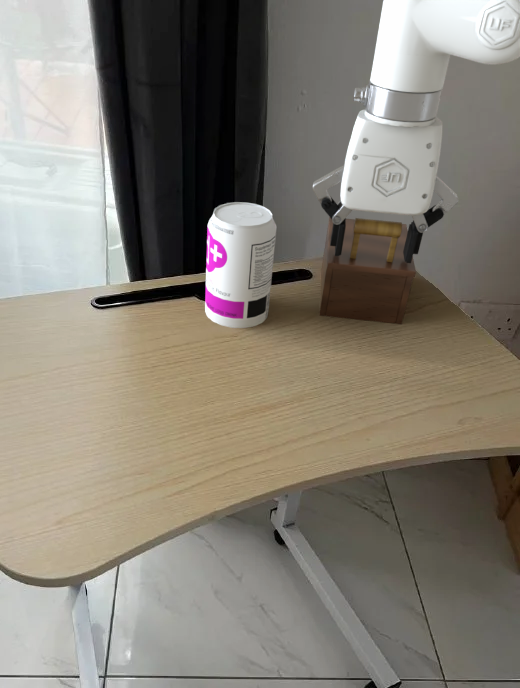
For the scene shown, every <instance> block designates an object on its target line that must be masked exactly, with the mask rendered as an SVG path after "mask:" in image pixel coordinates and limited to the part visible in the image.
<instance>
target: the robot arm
mask: <svg viewBox="0 0 520 688" xmlns="http://www.w3.org/2000/svg"><path fill="white" fill-rule="evenodd" d="M375 43H376V44H375V49H374V55H373V61H372V66H371V73H370V79H368V84H365V86H362V87H355V88H354V92H353V102H357V103H359V104H363V107H365V108H364V109H362V110H360V111H359V112H358V114H357V116H356V120H355V122H354V125H353V127H352V128H353V129H352V132H351V135H350V139H349V142H348V146H347V151H346V154H345V159H344V164H343V165H341V166H340V167H337V168H335V169H334V170H332V171H330V172H329V173H327V174H325V175H323V176H322V177H319V178H318V179H316V180H314V181H313V183H312V191H313V193H314V195H315V197H316V199H317V200H318V202H319V203H320V206H321V208H322V210H324V212H325V213H326V214H327V216H328V218H329V217H330V218H331V219H332V222H333V228H332V234H331V241H330V246H335V256H339V255H341V252H342V246H343V240H344V234H345V228H346V219H347V217H349V215H350V214H351V212H353V211H358V212H365V213H366V212H367V213H379V214H389V215H399V216H411V218H412V221H411V223H409V225H408V227H407V230H408V233H407V237H406V241H405V246H404V250H403V254H404V260H405V262H406V263H411V261H412V257H413V258H414V255H418V254H419V252H420V247H421V244H422V239H423V236H424V233H426V232H427V231H428V229H429V228H430V227H431V226H433V225H434V224H436V223H437V222H439V221H441V220H442V219H443V218H444V215H446V214H447V213H448V212H449V211H451V210H452V209H453V208H454V207H455V206H456V205H457V204H458V203H459V197H458V194H457V193H456V192H455V191H454V190H453V189H452V188H450V187H449V185H447V183H445V182H444V180H442V179H441V178H440V177H439V176H438V170H439V169H438V168H439V163H440V157H441V151H442V149H441V148H442V142H443V140H442V139H443V121H442V120H441V119H440V118H439V117H438V116H437V114H438V109H439V105H440V101H441V97H442V93H443V88H444V86H445V85H444V84H445V80H446V76H447V72H448V67H449V63H450V59H451V56H454V57H458V58H461V59H465V60H468V61H472V62H475V63H479V64H483V65H489V66H490V65H491V66H493V65H496V66H497V65H503V64H507V63H511V62H513V61H515V60H518V59H519V58H520V0H383V1H382V7H381V12H380V20H379V25H378V31H377V36H376V42H375ZM339 183H340V194H339V195H340V200H339V201H338V202H336V201H335V200H334V199H333V197H332V196H331V195H330V193H329V191H328V190H329V189H330V188H332V187H334V186H336V185H338V184H339ZM434 193H435V194H436V195H437V196H439V197H440V198H441V199H440V200H439V201H438V202H437V204H434V205H433V206H432V207H431V203H432V200H433V195H434Z"/></svg>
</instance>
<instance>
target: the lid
mask: <svg viewBox="0 0 520 688" xmlns="http://www.w3.org/2000/svg"><path fill="white" fill-rule="evenodd" d="M327 228H328V254H327V268H328V269H337V270H347V271H356V272H366V273H376V274H386V275H396V276H406V277H413V278H416V275H417V269H416V265H415V261H414V256H413V257H412V261H411V263H406V262H405V260H404V254H403V250H404V246H405V241H406V237H407V233H408V226H407V224H406V223H403V222H402V221H392V220H382V219H381V220H380V219H371V218H361V217H355V218H346V228H345V234H344V240H343V246H342V252H341V255H339V256H335V246H330V241H331V234H332V228H333V222H332V219H331V218H330V217H329V216H328V223H327Z"/></svg>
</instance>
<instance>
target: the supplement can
mask: <svg viewBox="0 0 520 688" xmlns="http://www.w3.org/2000/svg"><path fill="white" fill-rule="evenodd" d="M277 228H278V227H277V224H276V222H275V219H274V217H273V213H272V211H271V210H270V209H269V208H267V207H266V206H263V205H260V204H257V203H251V202H243V201H242V202H240V201H234V202H226V203H224V204H219V205H218V206H217V207H215V208H214V209H213V212H212V215H211V217H210V218H209V220H208V223H207V228H206V229H207V230H206V231H207V233H206V235H207V236H206V263H205V265H206V267H205V293H204V294H205V297H204V298H205V299H204V300H205V301H204V312H205V315H206V317H207V318H208V319H209V320H211V322H213V323H215V324H217V325H219V326H221V327H227V328H231V329H247V328H252V327H256V326H258V325H260V324H262V323H264V322H265V321H266V319H267V318H268V315H269V308H270V299H271V298H270V297H271V290H272V289H271V288H272V279H273V278H272V277H273V269H274V257H275V247H276V238H277Z"/></svg>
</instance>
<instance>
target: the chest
mask: <svg viewBox="0 0 520 688" xmlns="http://www.w3.org/2000/svg"><path fill="white" fill-rule="evenodd" d="M326 229H327V230H326V236H325V241H324V248H323V256H322V263H321V269H320V271H321V273H320V291H319V292H320V293H319V312H318V313H319V316H321V317H330V318H339V319H346V320H347V319H348V320H358V321H366V322H377V323H384V324H395V325H403V320H404V316H405V313H406V310H407V309H406V308H407V306H408V300H409V297H410V293H411V288H412V285H413V281H414V277H406V276H396V275H386V274H376V273H366V272H356V271H347V270H337V269H328V268H327V254H328V227H327V228H326Z"/></svg>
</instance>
